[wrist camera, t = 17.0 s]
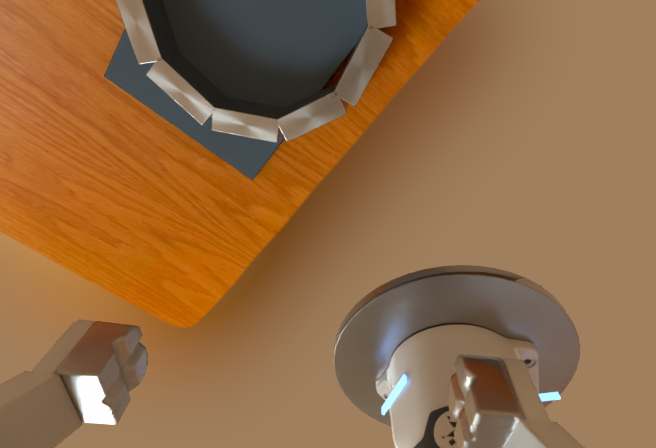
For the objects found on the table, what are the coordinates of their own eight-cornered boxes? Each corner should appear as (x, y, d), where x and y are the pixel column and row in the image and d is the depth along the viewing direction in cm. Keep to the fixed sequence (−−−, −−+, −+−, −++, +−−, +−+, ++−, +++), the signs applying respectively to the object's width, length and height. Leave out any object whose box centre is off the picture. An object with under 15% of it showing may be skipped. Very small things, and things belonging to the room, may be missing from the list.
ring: (432, 63, 29) (438, 71, 26) (225, 161, 34) (214, 175, 32) (323, -258, 21) (318, -291, 19) (76, -67, 26) (46, -72, 24)
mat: (274, -297, 21) (271, -303, 20) (458, -92, 25) (460, -93, 24) (107, 74, 32) (103, 76, 31) (253, 177, 36) (252, 180, 35)
